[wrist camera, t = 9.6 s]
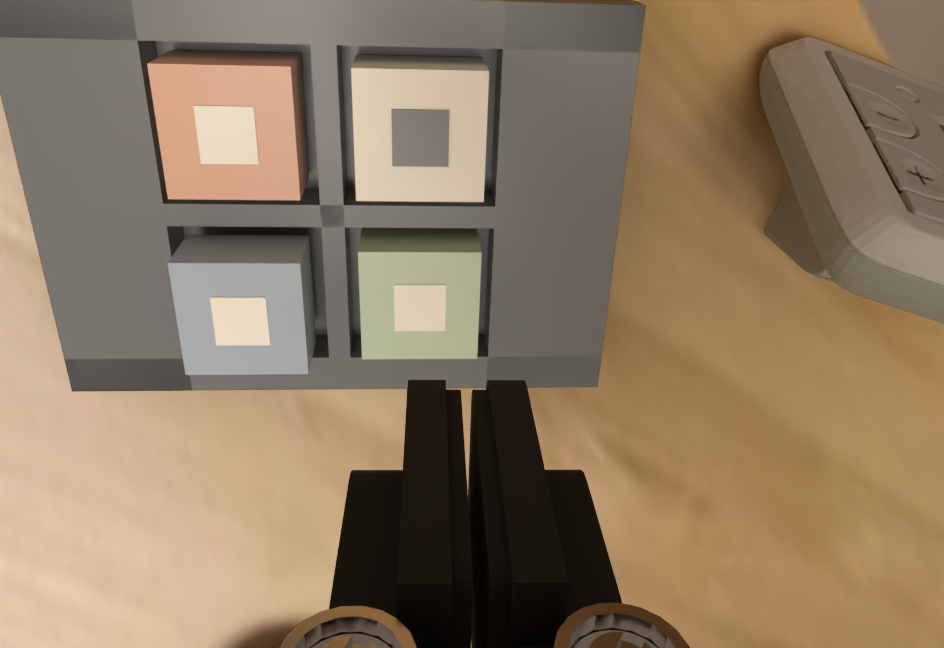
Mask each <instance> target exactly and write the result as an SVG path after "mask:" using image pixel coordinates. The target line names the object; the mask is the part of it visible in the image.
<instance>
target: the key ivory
mask: <svg viewBox="0 0 944 648" xmlns="http://www.w3.org/2000/svg"><path fill="white" fill-rule="evenodd" d="M351 80H352V107H353V134H354V161H355V187H356V201H406V202H484V185H485V161H486V137H487V113H488V89H489V70H488V67H487V65H486V63H485V61H484V59H483V58H477V57H434V56H391V55H356V57H355V59H354V62H353V64H352V67H351Z"/></svg>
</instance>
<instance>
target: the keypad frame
mask: <svg viewBox="0 0 944 648" xmlns="http://www.w3.org/2000/svg"><path fill="white" fill-rule="evenodd" d="M645 8H646V5H643V4H641V3H638V2H636V1H633V0H0V94H1V98H2V103H3V107H4V111H5V115H6V119H7V123H8V127H9V132H10V136H11V140H12V144H13V148H14V152H15V156H16V161H17V165H18V169H19V173H20V177H21V181H22V185H23V190H24V194H25V198H26V202H27V206H28V210H29V214H30V219H31V223H32V227H33V231H34V235H35V239H36V243H37V248H38V252H39V256H40V260H41V264H42V268H43V272H44V277H45V281H46V285H47V289H48V293H49V297H50V302H51V306H52V310H53V314H54V318H55V322H56V326H57V331H58V335H59V339H60V343H61V347H62V351H63V355H64V360H65V364H66V368H67V372H68V376H69V380H70V384H71V389H72V391H180V390H299V389H408V380H446V388H486V383H487V380H525V382H526V385H527V388H537V387H598V380H599V372H600V364H601V356H602V348H603V340H604V332H605V324H606V316H607V308H608V300H609V293H610V285H611V277H612V269H613V261H614V253H615V245H616V237H617V229H618V221H619V214H620V206H621V198H622V190H623V182H624V174H625V166H626V158H627V150H628V142H629V135H630V127H631V119H632V111H633V103H634V95H635V87H636V79H637V71H638V63H639V55H640V48H641V40H642V32H643V24H644V16H645ZM170 50H177V51H220V52H263V53H301V60H302V75H303V90H304V106H305V121H306V136H307V151H308V167H309V179H308V182H307V184H306V187H305V190H304V192H303V195H302V197H301V200H194V199H168V196H167V190H166V183H165V177H164V170H163V164H162V157H161V151H160V144H159V138H158V131H157V125H156V118H155V112H154V105H153V99H152V92H151V86H150V79H149V73H148V66H147V63H149V62H151V61H152V60H154V59H156V58H158V57H159V56H161V55H163V54H165V53H166V52H168V51H170ZM356 55H391V56H434V57H477V58H483V59H484V61H485V63H486V65H487V67H488V70H489V89H488V113H487V137H486V161H485V185H484V202H406V201H356V187H355V161H354V134H353V107H352V80H351V67H352V64H353V62H354V59H355V57H356ZM362 228H477V232H478V237H479V242H480V247H481V252H482V257H481V281H480V305H479V329H478V353H477V359H362V348H361V321H360V294H359V268H358V248H359V242H360V236H361V230H362ZM187 235H305V236H309V241H310V255H311V270H312V285H313V300H314V314H315V329H316V343H315V347H314V352H313V356H312V361H311V365H310V370H309V374H260V375H185V369H184V363H183V356H182V350H181V344H180V338H179V331H178V325H177V319H176V313H175V306H174V300H173V294H172V288H171V281H170V275H169V269H168V262H169V260H170V259H171V258H172V256H173V255H174V253H175V252H176V250H177V249H178V247H179V246H180V245H181V243H182V242H183V240H184V239H185V237H186V236H187Z"/></svg>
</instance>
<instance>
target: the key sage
mask: <svg viewBox="0 0 944 648" xmlns="http://www.w3.org/2000/svg"><path fill="white" fill-rule="evenodd" d="M481 257H482V252H481V247H480V242H479V237H478V232H477V228H362V230H361V236H360V242H359V248H358V268H359V294H360V321H361V348H362V359H477V353H478V329H479V305H480V281H481Z"/></svg>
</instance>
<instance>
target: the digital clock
mask: <svg viewBox="0 0 944 648" xmlns="http://www.w3.org/2000/svg"><path fill="white" fill-rule="evenodd" d="M759 81H760V95H761V101H762V105H763V108H764V112H765V114H766V117H767V119H768V122H769V125H770V127H771V130H772V133H773V135H774V138H775V141H776V143H777V146H778V148H779V151H780V154H781V156H782V159H783V162H784V164H785V167H786V170H787V172H788V175H789V177H790V182H789V183H788V185H787V187H786V189H785V191H784V193H783V195H782V197H781V198H780V200H779V202H778V204H777V206H776V208H775V210H774V212H773V213H772V215H771V217H770V219H769V221H768V223H767V226H766V229H765V234H766V236H767V237H768V238H770V239H771V240H772V241H773V242H774V243H775V244H776V245H777V246H778V247H779V248H780V249H782V250H783V251H784V252H785V253H786V254H787V255H788V256H789V257H790V258H791V259H793V260H794V261H795V262H796V263H797V264H798V265H799V266H800V267H801V268H802V269H804V270H805V271H806V272H808V273H810V274H812V275H814V276H817V277H820V278H824V279H827V280H830V281H833V282H836V283H837V284H838V285H839V286H841V287H842V288H844V289H845V290H848V291H850V292H852V293H854V294H856V295H859V296H862V297H865V298H868V299H871V300H874V301H877V302H880V303H883V304H886V305H889V306H892V307H895V308H898V309H901V310H904V311H907V312H910V313H913V314H916V315H919V316H922V317H925V318H928V319H932V320H935V321H938V322H941V323H944V87H941V86H938V85H936V84H933V83H931V82H928V81H926V80H923V79H920V78H918V77H916V76H913V75H910V74H908V73H905V72H903V71H900V70H898V69H895V68H893V67H890V66H887V65H885V64H882V63H880V62H877V61H875V60H872V59H870V58H867V57H864V56H862V55H859V54H857V53H854V52H851V51H849V50H846V49H843V48H841V47H838V46H835V45H833V44H830V43H827V42H825V41H822V40H819V39H815V38H812V37H804V38H801V39H798V40H795V41H791V42H788V43H786V44H783V45H780V46H777V47H774V48H772V49H771V50H769V53H768V54H767V55H766V57H765V59H764V61H763V63H762V67H761V71H760V75H759Z"/></svg>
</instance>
